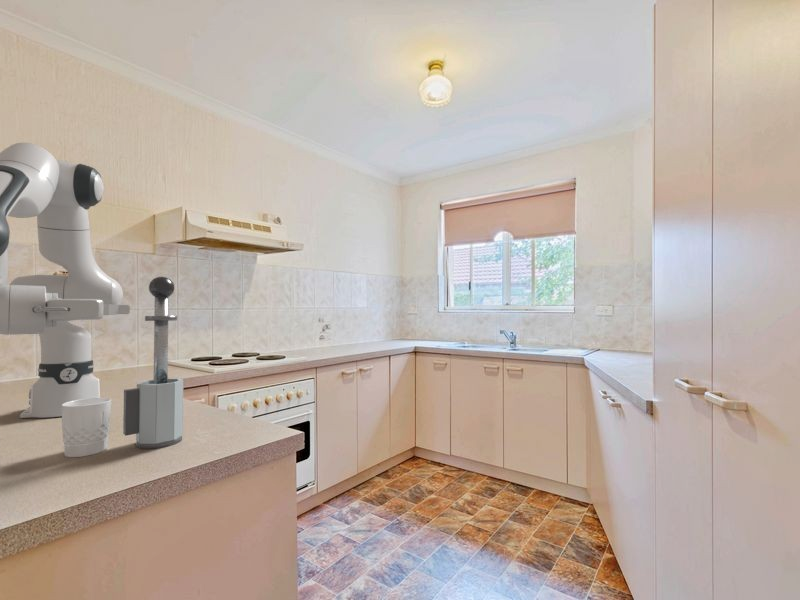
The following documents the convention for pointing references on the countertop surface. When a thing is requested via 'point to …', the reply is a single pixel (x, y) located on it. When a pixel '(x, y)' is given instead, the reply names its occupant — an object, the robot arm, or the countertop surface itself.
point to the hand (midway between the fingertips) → (124, 309)
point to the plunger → (161, 326)
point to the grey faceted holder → (154, 413)
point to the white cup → (85, 426)
